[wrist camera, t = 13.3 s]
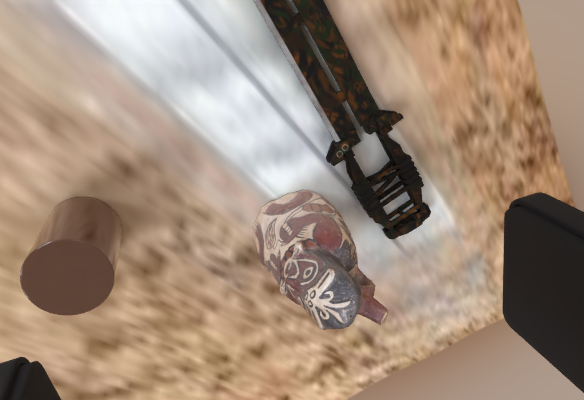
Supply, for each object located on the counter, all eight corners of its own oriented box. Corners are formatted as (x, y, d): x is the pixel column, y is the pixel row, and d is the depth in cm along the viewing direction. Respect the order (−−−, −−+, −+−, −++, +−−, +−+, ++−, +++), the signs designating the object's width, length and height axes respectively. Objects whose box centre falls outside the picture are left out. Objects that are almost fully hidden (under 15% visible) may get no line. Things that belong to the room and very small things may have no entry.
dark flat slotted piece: (224, -54, 29) (227, -57, 28) (313, -101, 30) (320, -106, 29) (368, 247, 40) (374, 254, 39) (431, 210, 41) (440, 216, 39)
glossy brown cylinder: (34, 207, 32) (4, 254, 26) (108, 188, 33) (97, 229, 26) (61, 269, 34) (40, 326, 28) (131, 249, 35) (125, 300, 28)
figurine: (275, 176, 36) (327, 245, 25) (352, 205, 38) (428, 279, 28) (238, 256, 37) (272, 353, 27) (314, 279, 40) (373, 375, 29)
